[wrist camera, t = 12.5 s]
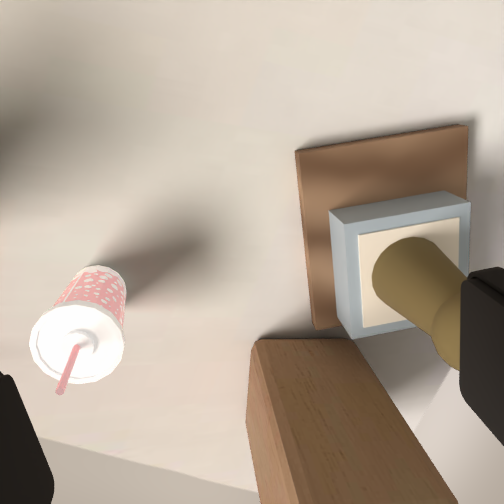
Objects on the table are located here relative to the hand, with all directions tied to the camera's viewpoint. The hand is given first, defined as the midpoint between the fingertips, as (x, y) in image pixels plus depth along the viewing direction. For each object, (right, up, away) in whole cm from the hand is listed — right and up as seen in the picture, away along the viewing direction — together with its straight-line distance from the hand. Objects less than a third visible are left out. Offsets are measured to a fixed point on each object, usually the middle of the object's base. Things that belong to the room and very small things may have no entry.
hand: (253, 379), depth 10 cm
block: (+4, -10, +37) cm, 38 cm away
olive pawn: (+12, +1, +28) cm, 30 cm away
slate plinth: (+12, +2, +32) cm, 34 cm away
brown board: (+11, +5, +32) cm, 35 cm away
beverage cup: (-13, -1, +31) cm, 34 cm away
